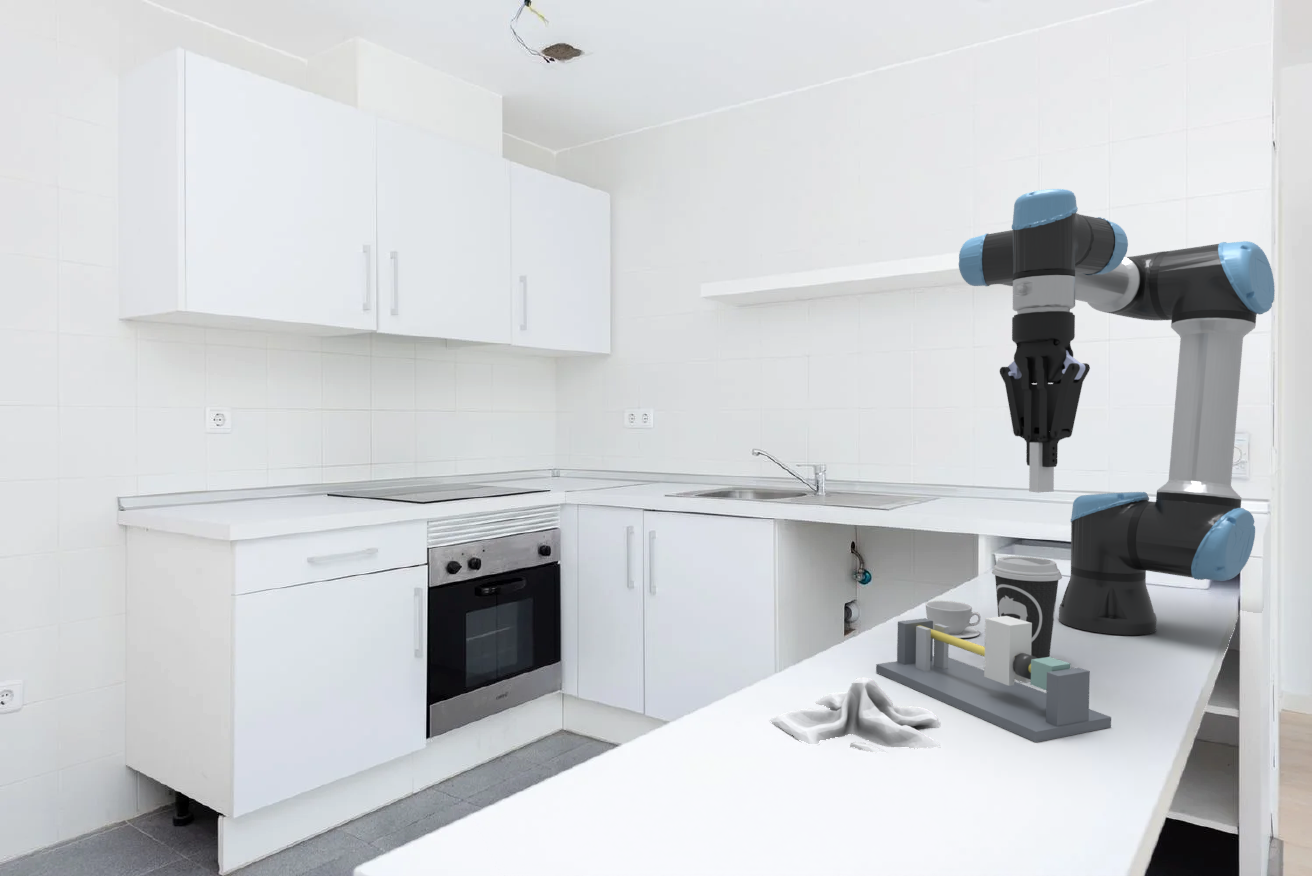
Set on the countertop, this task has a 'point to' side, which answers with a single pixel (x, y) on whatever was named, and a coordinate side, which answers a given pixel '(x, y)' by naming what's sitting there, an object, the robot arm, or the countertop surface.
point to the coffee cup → (1029, 596)
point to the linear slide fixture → (995, 685)
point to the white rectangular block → (1005, 647)
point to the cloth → (861, 719)
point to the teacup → (953, 617)
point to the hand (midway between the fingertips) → (1041, 491)
